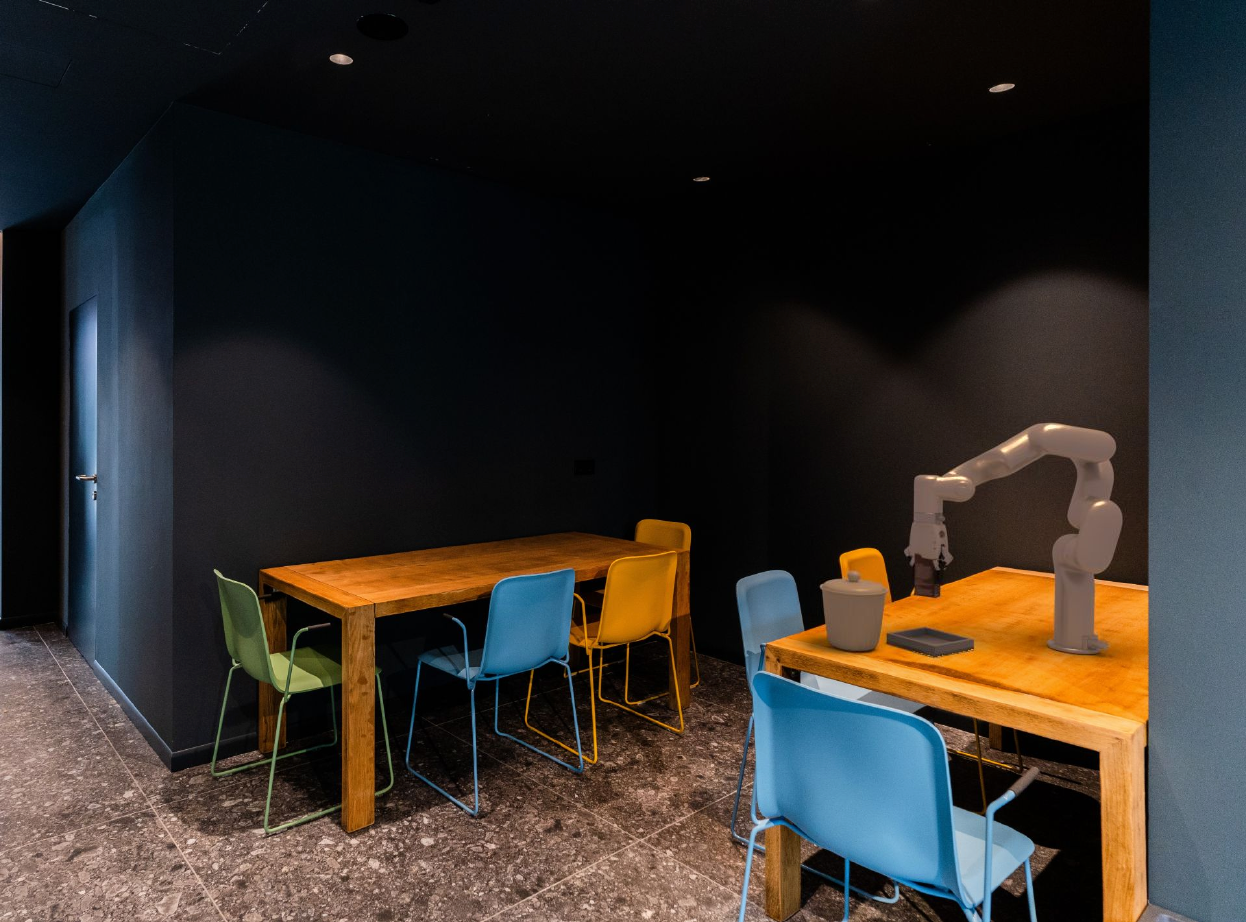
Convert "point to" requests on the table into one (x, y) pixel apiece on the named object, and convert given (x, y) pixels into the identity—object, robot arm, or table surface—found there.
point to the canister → (853, 612)
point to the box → (925, 578)
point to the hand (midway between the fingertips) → (927, 581)
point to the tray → (930, 641)
